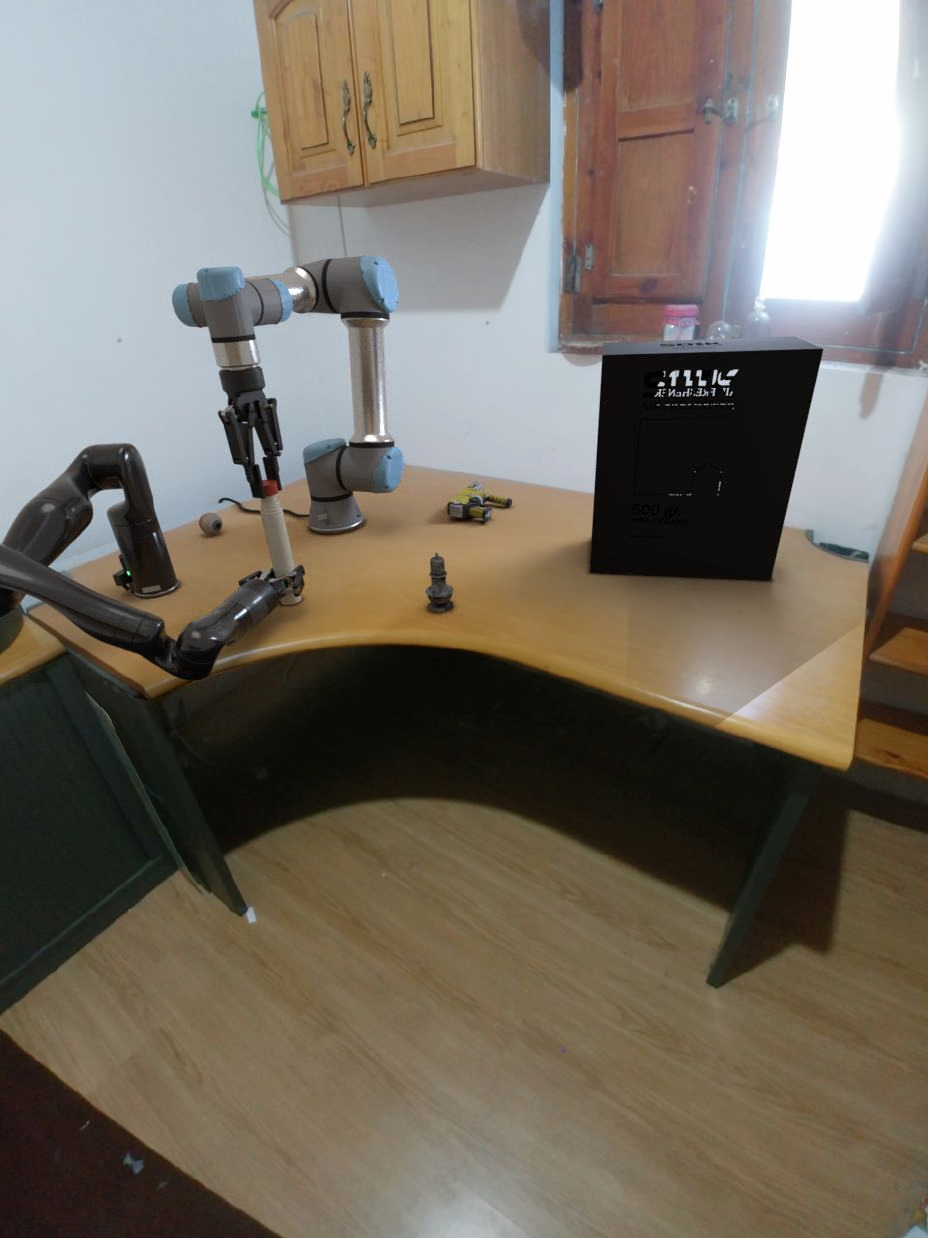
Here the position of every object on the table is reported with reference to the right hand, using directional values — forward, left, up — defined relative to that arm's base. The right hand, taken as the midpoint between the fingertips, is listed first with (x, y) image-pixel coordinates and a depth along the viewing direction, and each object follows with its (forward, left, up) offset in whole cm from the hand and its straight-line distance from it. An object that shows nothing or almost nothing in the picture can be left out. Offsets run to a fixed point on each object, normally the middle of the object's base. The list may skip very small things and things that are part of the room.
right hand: (267, 493), depth 119 cm
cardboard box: (+41, +77, -24) cm, 91 cm away
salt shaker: (+24, +23, -24) cm, 41 cm away
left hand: (-2, +2, -18) cm, 18 cm away
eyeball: (-53, -1, -24) cm, 58 cm away
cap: (0, 0, +2) cm, 2 cm away
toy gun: (-16, +66, -24) cm, 72 cm away
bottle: (0, 0, -24) cm, 24 cm away
